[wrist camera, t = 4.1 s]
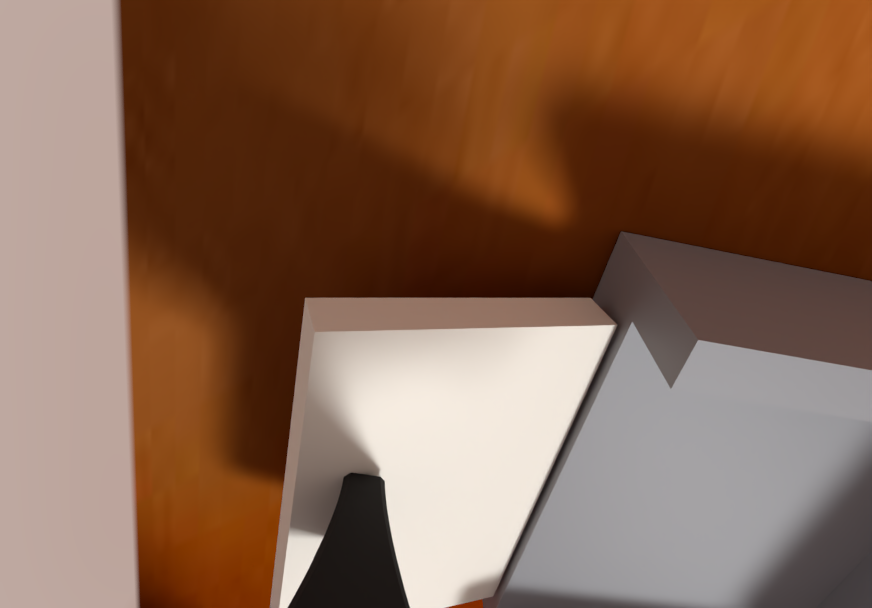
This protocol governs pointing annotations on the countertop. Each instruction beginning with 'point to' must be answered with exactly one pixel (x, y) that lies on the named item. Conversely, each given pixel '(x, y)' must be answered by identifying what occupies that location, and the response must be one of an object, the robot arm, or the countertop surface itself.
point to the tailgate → (434, 428)
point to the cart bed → (712, 444)
